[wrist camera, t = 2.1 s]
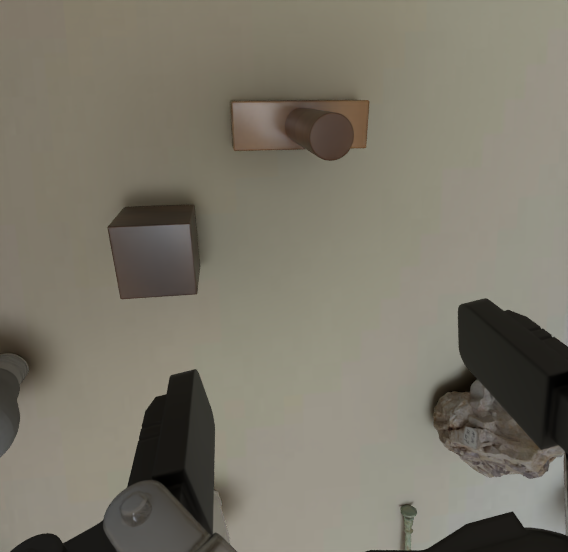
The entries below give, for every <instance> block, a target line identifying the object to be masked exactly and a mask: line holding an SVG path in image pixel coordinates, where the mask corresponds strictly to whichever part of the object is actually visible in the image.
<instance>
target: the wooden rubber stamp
mask: <svg viewBox="0 0 568 552" xmlns="http://www.w3.org/2000/svg"><path fill="white" fill-rule="evenodd" d="M230 108H231V127H232V146H233V149H234V151H254V150H299V149H307V150H308V151H310V152H311V153H313V154H315V155H316V156H318V157H319V158H321V159H324V160H329V161H332V160H337V159H339V158H341V157H343V156H344V155H345V154H346V153H347V152H348V151H349V150H350V148H366V141H367V128H368V114H369V101H368V100H274V101H230Z"/></svg>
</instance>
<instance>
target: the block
mask: <svg viewBox="0 0 568 552" xmlns="http://www.w3.org/2000/svg"><path fill="white" fill-rule="evenodd" d="M108 233H109V238H110V244H111V249H112V255H113V260H114V266H115V271H116V277H117V282H118V288H119V293H120V298H121V299H132V298H147V297H162V296H178V295H193V294H197V291H198V282H199V272H200V259H199V248H198V237H197V227H196V216H195V205H193V204H192V205H166V206H140V207H124V208H123V209H122V211H121V212H120V213H119V214H118V215H117V217H116V218H115V219H114V220H113V221H112V223H111V224H110V225H109V226H108Z"/></svg>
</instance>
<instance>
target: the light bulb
mask: <svg viewBox="0 0 568 552" xmlns="http://www.w3.org/2000/svg"><path fill="white" fill-rule="evenodd" d="M28 371H29V367H28V364H27V362H26V361H25V360H24V359H23V358H22V357H20V356H18V355H16V354H11V353H6V354H2V355H0V457H1V456H2V455H3V454H4V453H5V452H6V451H7V450H8V449H9V448H10V446H11V444H12V443H13V441H14V439H15V437H16V434H17V432H18V428H19V422H20V413H19V408H18V403H17V397H18V395H19V391H20V384H21V383H22V381H23V380H24V378H25V377H26V376H27V374H28Z"/></svg>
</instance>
